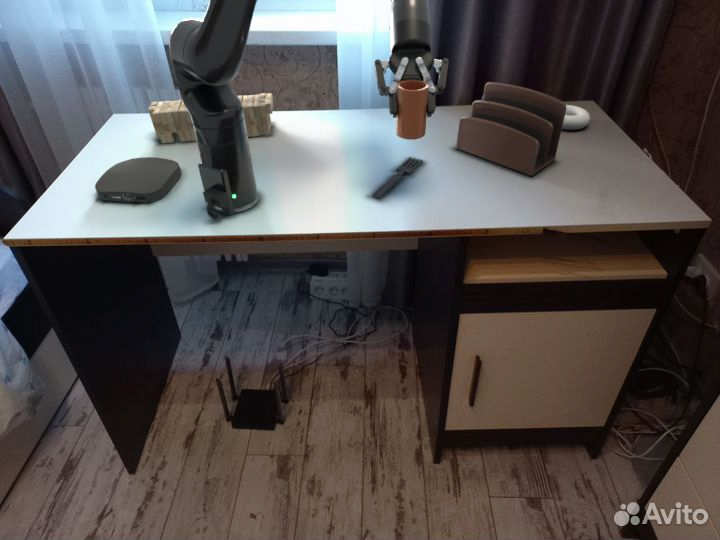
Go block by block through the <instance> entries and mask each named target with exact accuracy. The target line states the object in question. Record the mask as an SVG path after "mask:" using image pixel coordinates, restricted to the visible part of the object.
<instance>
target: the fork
mask: <svg viewBox="0 0 720 540" xmlns="http://www.w3.org/2000/svg"><path fill="white" fill-rule="evenodd" d="M423 163H424V160H423V159H419V158H417V159H416V158H415V157H411V156H409V158H407V159H406V160H405V161H403V162H402V164H401V165H399V166H398V167H396V169H395V171H396V172H397V173H394V174H392V175H391V177H390V178H389V179H387V180H386V181H385V182H384V183H383V184H382V185H381V186H380V187H379V188H377V190H375V191H374V192H373V193H372V195H371V196H372V198H376V199H379V200H381V199H382V198H383V197H384V196H385V195H387V193H388V192H389V191H390V190H391V189H393V188H394V186H395V185H397V184H398V183H399V182H400V181H401V180H402V179H403V177H404V175H408V176H411V175H412V174H413V173H414V172H415V171H416V169H418V168H419V167H420V166H421V165H422V164H423Z"/></svg>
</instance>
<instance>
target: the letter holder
mask: <svg viewBox="0 0 720 540" xmlns="http://www.w3.org/2000/svg"><path fill="white" fill-rule="evenodd" d="M483 95H484V97H483V96H482V97H483V100H481V99H476V100H474V101H473V102H472V104H471V109H470V116H461V117H460V118H459V120H458V129H457V136H456V143H455V144H456V145H455V149H457V150H460V151H463V152H465V153H467V154H471V155H473V156H477V157H479V158H482V159H484V160H487V161H488V162H489V161H490V162H492V163H495V164H497V165H500V166H502V167H506V168H508V169H511V170H514V171H516V172H519V173H522V174H525V175H527V176H529V177H533V176H535V175H537V174H538V173H539V172H540V171H542V170H544V169H545V168H547V166H549V165H551V164H552V163H553V162H554V161H555V160H556V157H557V152H558V148H559V143H560V139H561V134H562V131H563V129H562V126H563V121H564V117H565V113H566V105H567V104H566V103H565V102H564V101H563V100H561V99H558V98H556V97H555V96H552V95H549V94H546V93H544V92H542V91H538V90H535V89H531V88H527V87H523V86H520V85H515V84H509V83H505V82H494V81H488V82H486V83H485V84H484V89H483Z"/></svg>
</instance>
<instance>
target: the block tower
mask: <svg viewBox="0 0 720 540" xmlns="http://www.w3.org/2000/svg"><path fill="white" fill-rule="evenodd" d="M237 96H238V98H239V99H240V101H241V103H242V107H243V112H244V118H245V124H246V129H247V135H248V138H253V137H260V136H265V137H267V136H271V129H272V118H271V115H273V110H274V98H273V97H274V96H273V93H272V92H268V93H266V92H265V93H264V92H263V93H258V94H250V95H248V94H245V95H237ZM149 105H150V106H149V108H148V109H147V111H148V114H149V116H150V120H151V123H152V126H153V130H154V132H155V135H156V138H157V140H160V142H161V144H168V143H170V144H173V143H175V141H176V138H177V136H178V138H179V142H181V143H183V142H184V143H185V142H197V141H196V137H195V133H194V129H193V125H192V121H191V117H190V114H189V112H188V110H187V109H186V107H185V105H184V103H183V100H182V99H176V100H165V101H152V102H151V103H150V104H149Z"/></svg>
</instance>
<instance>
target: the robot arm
mask: <svg viewBox="0 0 720 540" xmlns="http://www.w3.org/2000/svg"><path fill="white" fill-rule="evenodd" d="M257 3H258V0H209V2H208V6H207V9H206V12H205V14H204V17H203V19H200V18H185V19H183V20H182V21H180V22H179V23H177V24H176V25H175V26H174V27H173V30H172V31H171V33H170V37H169V41H168V42H169V43H168V47H169V57H170V61H171V65H172V69H173V74H174V76H175V81H176V84H177V88H178V91H179V94H180V97H181V100H182V101H183V103H184V105H185V107H186V109H187V110H188V112H189V114H190V117H191V121H192V125H193V129H194V133H195V137H196V141H195V142H196V145H197V149H198V153H199V157H200V161H201V162H199V163H198V164H197V168H198V172H199V177H200V180H201V184H202V187H203V191H202V194H203V195H202V196H203V198H204V199H203V200H204V203H206V213H207V215H208V216H209V217H210V218H211V219H213V220H214V221H216V220H217V219H219V216H218V214H216V213H215V212H214V211H217V212H219V213H223V214H225V215H227V216H233V215H235V214H236V213H242V212H245V211H247V210H248V211H249V210H250V209H252V208H253V207H254V206H256V205H257V204H258V202H259V200H260V195H259V191H258V188H257V182H256V175H255V171H254V165H253V159H252V153H251V147H250V142H249V137H248V135H247V129H246V124H245V118H244V112H243V107H242V103H241V101H240V99H239V98H238V96H239V95H237V94H236V92H235V91H234V89H233V88H232V86H231V84H230V83H231V82H232V81H233V80H234V79H235V77H236V76H237V75H238V73H239V71H240V68H241V65H242V63H243V59H244V56H245V52H246V47H247V43H248V38H249V35H250V29H251V25H252V21H253V17H254V13H255V9H256V6H257ZM430 12H431V11H430V7H429V0H390V12H389V27H388V28H389V42H390V43H389V45H390V46H389V47H390V56H389V58H388V59H387V60H381V59H379V58H378V59H377V58H376V59H375V60H374V65H373V67H374V68H373V70H374V74H375V81H376V85H377V91H378V94H379V96H381V97H387V98H388V113H389V115H391V116H392V118H395V119H396V118H397V84H398V83H400V82H402V81H405V80H420V81H424V82H426V83H427V84H428V85H429V88H428V102H427V118H432V115H434V114H435V111H436V106H437V105H436V104H437V103H436V96H438V95H439V96H442V95H443V94H444V92H445V89H446V85H447V77H448V70H449V63H450V60H449V58H447V57H444V58H442V59H436V58H435V57H434V56H433V54H432V34H431V33H432V31H431V13H430ZM433 67H434V68H435V71H436V73H437V74H438V81H437V85H434V82H433V80H432V77H431V74H430V73H429V72H430V71H431V70H432V69H433ZM387 69H389V70H390V71H391V72H392V73H393V75H394V77H393V80H392V83H391V85H390V86H387V85H386V80H385V75H386V73H387ZM213 210H214V211H213Z"/></svg>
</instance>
